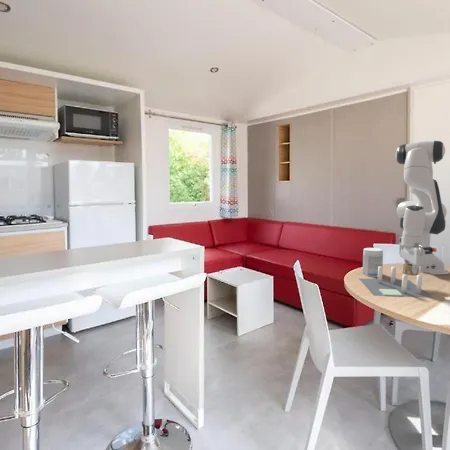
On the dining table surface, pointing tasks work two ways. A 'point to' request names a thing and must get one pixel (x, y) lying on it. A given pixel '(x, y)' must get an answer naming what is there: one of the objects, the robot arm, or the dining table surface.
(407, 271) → the ring
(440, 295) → the dining table surface
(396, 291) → the pad
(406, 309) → the dining table surface
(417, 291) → the board
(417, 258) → the robot arm
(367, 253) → the supplement tub
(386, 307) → the dining table surface
